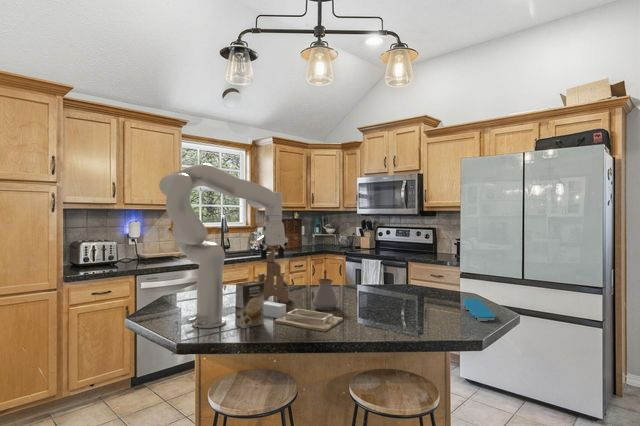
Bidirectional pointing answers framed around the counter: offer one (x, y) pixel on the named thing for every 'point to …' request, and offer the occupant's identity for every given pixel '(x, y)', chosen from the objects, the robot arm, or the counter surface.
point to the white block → (274, 309)
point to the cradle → (309, 319)
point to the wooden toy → (272, 271)
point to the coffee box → (249, 304)
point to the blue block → (477, 308)
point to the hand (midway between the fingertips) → (272, 258)
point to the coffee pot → (325, 295)
